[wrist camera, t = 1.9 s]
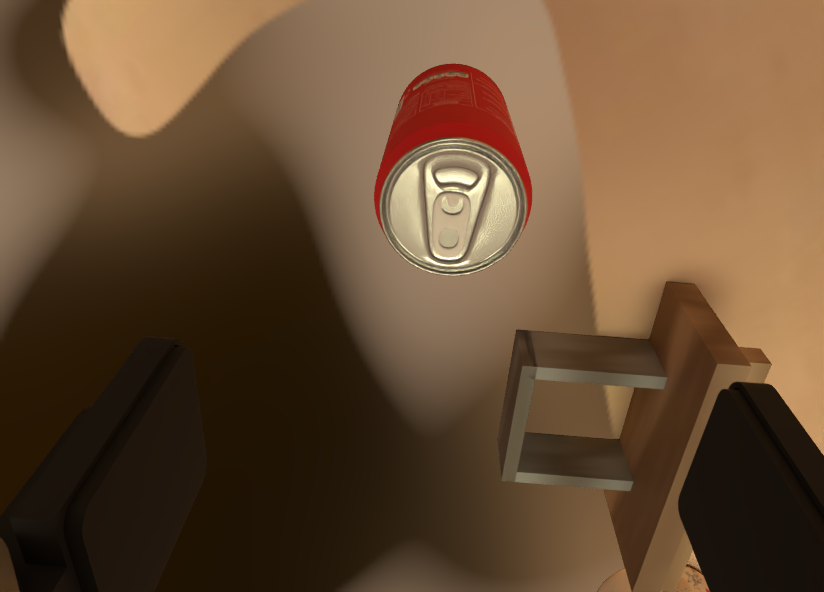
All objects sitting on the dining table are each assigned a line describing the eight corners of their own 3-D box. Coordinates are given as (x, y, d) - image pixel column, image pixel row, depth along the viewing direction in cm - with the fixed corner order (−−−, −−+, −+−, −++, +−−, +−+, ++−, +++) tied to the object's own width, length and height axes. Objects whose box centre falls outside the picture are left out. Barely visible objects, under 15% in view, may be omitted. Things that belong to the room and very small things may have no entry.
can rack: (713, 285, 34) (774, 368, 28) (641, 494, 42) (676, 597, 36) (526, 270, 34) (544, 350, 28) (490, 482, 42) (497, 581, 36)
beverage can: (513, 64, 29) (549, 137, 19) (497, 172, 32) (520, 290, 21) (401, 54, 29) (374, 122, 19) (394, 163, 32) (368, 275, 21)
